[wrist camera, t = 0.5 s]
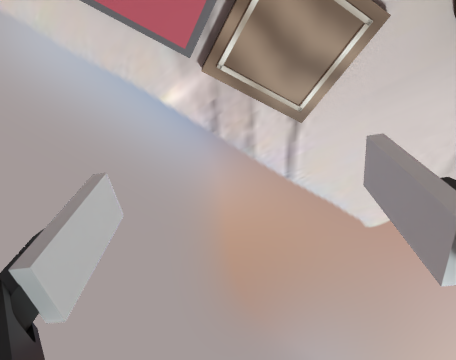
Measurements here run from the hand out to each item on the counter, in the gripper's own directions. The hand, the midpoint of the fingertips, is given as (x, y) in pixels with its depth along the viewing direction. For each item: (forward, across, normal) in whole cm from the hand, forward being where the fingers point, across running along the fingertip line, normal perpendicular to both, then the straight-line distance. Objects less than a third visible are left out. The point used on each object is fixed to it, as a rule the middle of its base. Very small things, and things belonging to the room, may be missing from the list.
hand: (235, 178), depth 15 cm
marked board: (+27, +7, +3) cm, 28 cm away
